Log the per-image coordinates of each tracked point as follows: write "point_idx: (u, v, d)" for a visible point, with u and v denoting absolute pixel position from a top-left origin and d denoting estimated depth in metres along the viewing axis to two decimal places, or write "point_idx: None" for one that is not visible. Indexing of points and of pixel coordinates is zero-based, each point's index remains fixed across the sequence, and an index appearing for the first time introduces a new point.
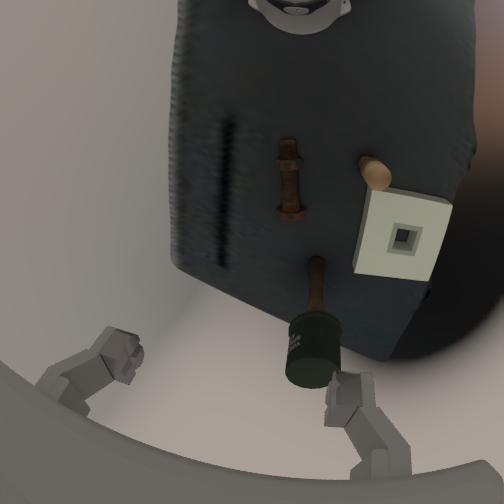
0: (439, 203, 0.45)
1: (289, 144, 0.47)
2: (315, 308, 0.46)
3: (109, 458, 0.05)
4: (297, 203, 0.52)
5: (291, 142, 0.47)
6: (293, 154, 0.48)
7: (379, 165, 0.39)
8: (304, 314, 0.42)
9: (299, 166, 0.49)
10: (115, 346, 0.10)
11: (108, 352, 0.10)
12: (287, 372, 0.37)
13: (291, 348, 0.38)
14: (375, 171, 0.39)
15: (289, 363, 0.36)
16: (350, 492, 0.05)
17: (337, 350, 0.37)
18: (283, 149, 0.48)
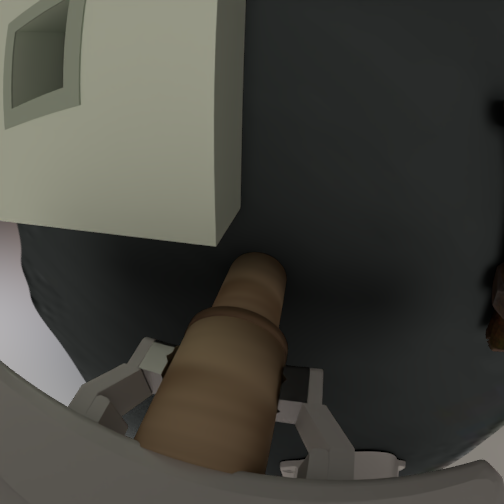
0: (5, 218, 0.13)
1: None
2: None
3: (109, 458, 0.05)
4: None
5: (500, 349, 0.12)
6: None
7: None
8: None
9: None
10: (157, 359, 0.10)
11: (150, 366, 0.09)
12: None
13: None
14: None
15: None
16: (350, 492, 0.05)
17: None
18: None
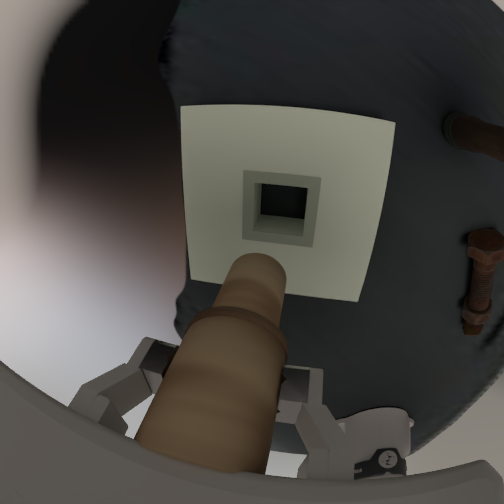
0: (219, 282, 0.30)
1: (473, 334, 0.28)
2: None
3: (109, 458, 0.05)
4: (479, 268, 0.24)
5: (469, 335, 0.29)
6: (471, 325, 0.28)
7: None
8: None
9: (468, 314, 0.27)
10: (157, 359, 0.10)
11: (150, 366, 0.09)
12: None
13: None
14: None
15: None
16: (350, 492, 0.05)
17: None
18: (480, 328, 0.27)
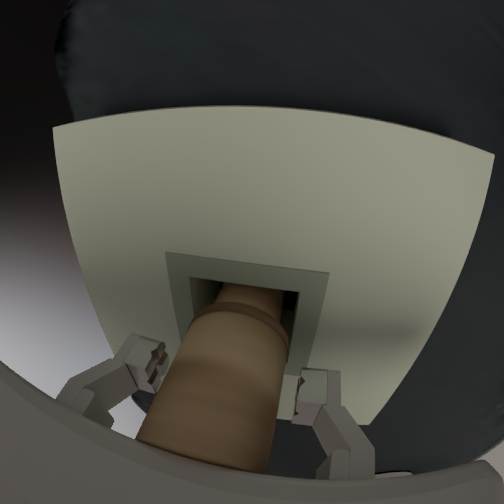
0: None
1: None
2: None
3: (109, 458, 0.05)
4: None
5: None
6: None
7: None
8: None
9: None
10: (141, 355, 0.10)
11: (134, 361, 0.09)
12: None
13: None
14: None
15: None
16: (350, 492, 0.05)
17: None
18: None
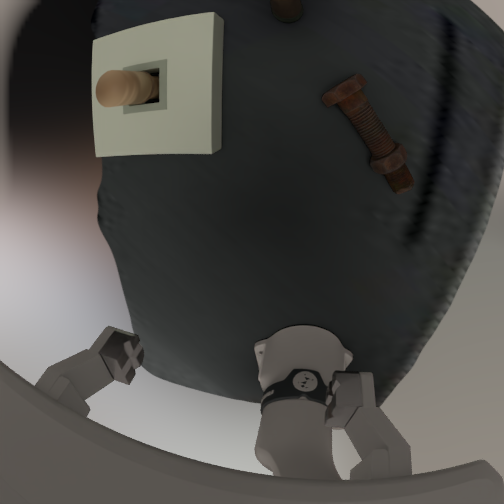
0: (113, 154, 0.34)
1: (402, 188, 0.30)
2: None
3: (109, 458, 0.05)
4: (347, 111, 0.27)
5: (400, 190, 0.30)
6: (391, 177, 0.30)
7: (111, 105, 0.24)
8: None
9: (375, 165, 0.30)
10: (115, 346, 0.10)
11: (108, 352, 0.10)
12: None
13: None
14: (115, 95, 0.23)
15: None
16: (350, 492, 0.05)
17: None
18: (406, 177, 0.29)
